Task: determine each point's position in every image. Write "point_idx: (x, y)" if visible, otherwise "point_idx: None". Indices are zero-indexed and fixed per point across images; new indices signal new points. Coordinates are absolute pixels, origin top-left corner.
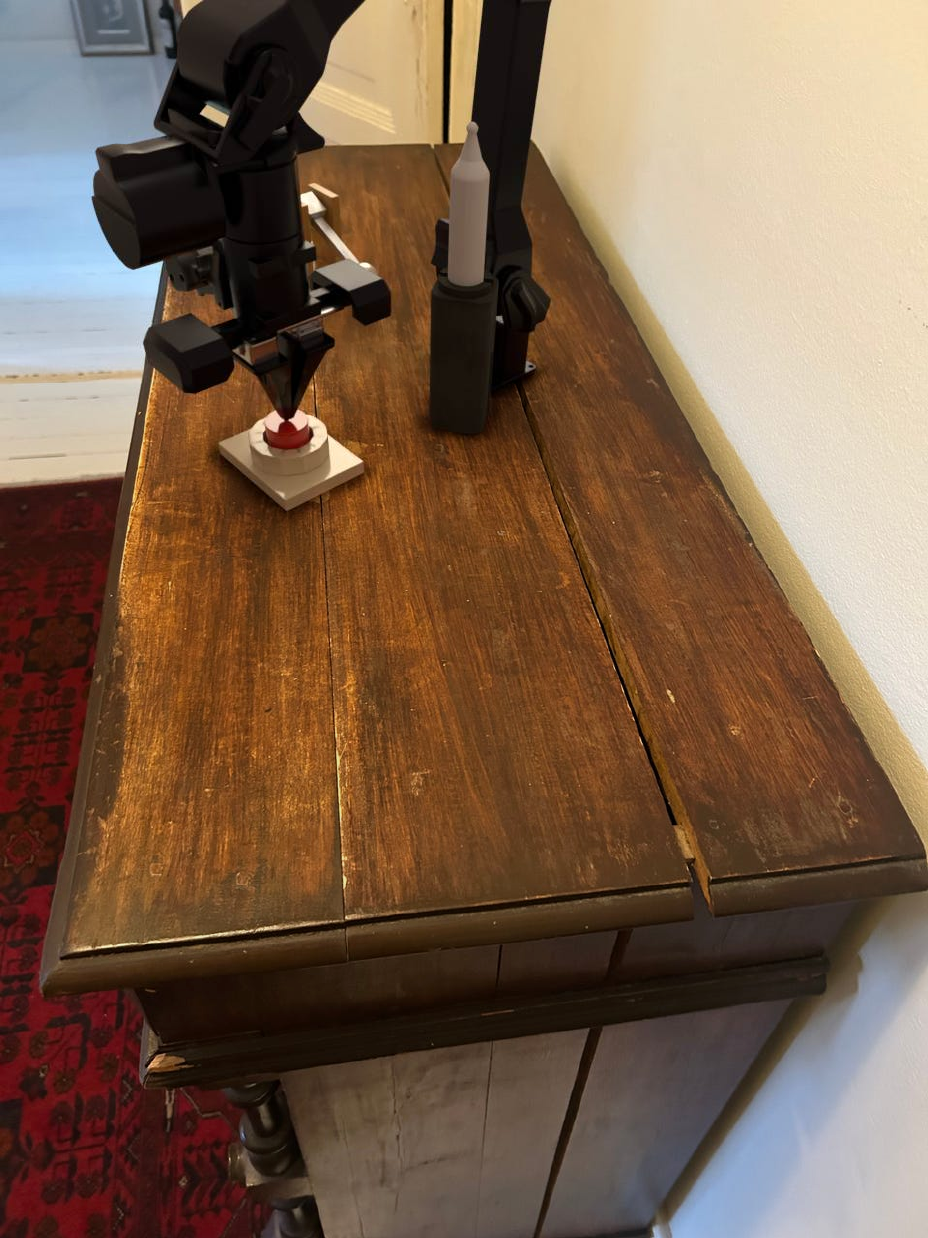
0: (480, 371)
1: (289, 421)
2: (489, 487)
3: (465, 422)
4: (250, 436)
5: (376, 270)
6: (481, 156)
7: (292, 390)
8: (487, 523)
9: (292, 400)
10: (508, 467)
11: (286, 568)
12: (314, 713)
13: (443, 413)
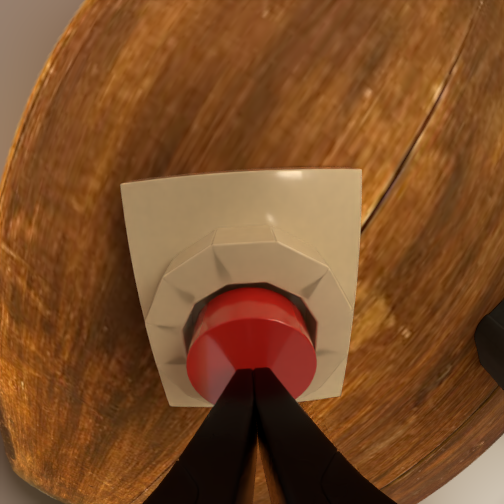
0: None
1: None
2: (408, 439)
3: (488, 370)
4: (158, 300)
5: None
6: None
7: (270, 495)
8: (359, 471)
9: (263, 466)
10: (446, 420)
11: (136, 442)
12: (117, 499)
13: (491, 359)
